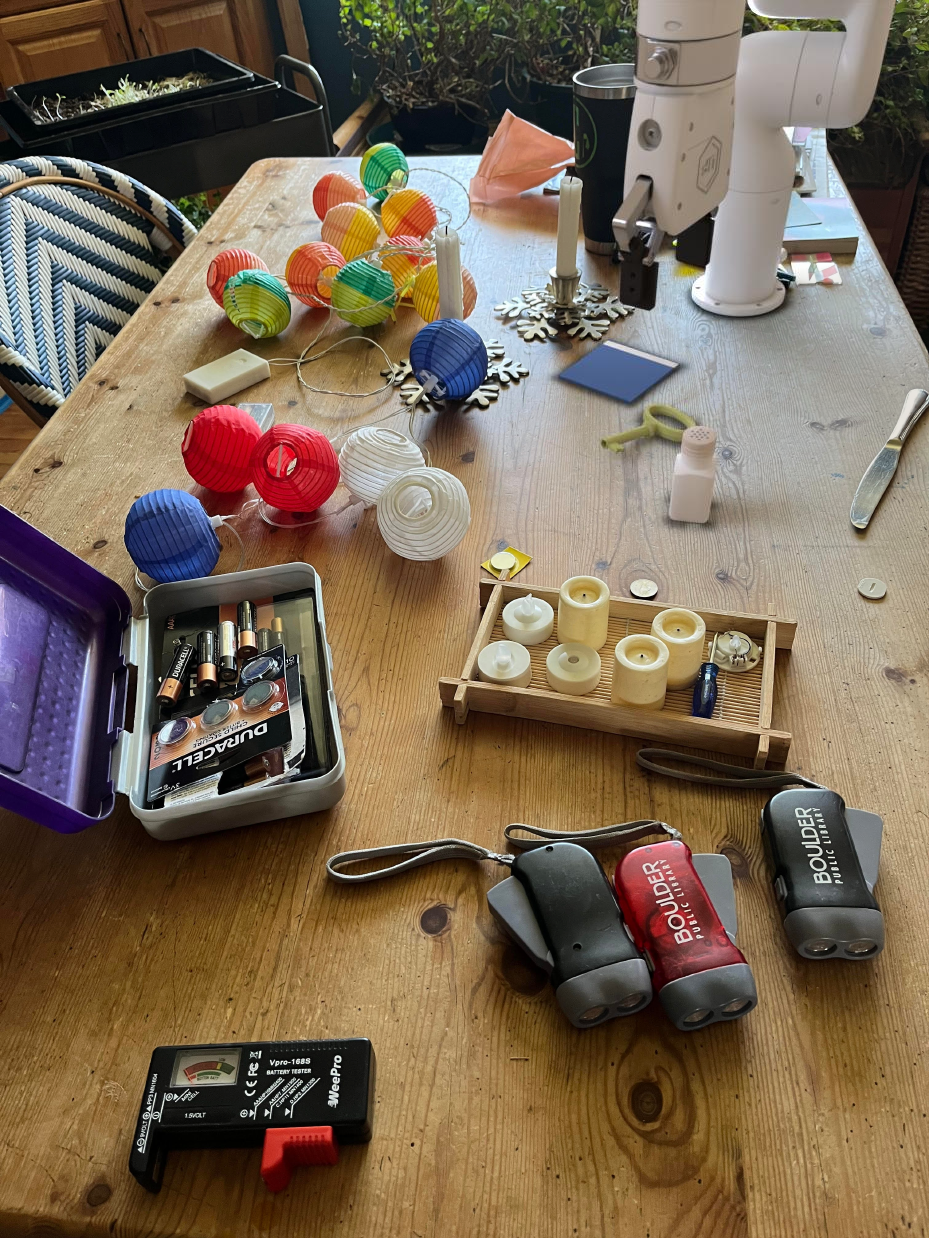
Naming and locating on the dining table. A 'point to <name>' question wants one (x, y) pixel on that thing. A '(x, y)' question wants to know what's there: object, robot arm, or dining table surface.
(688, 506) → the pepper shaker
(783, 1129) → the dining table surface
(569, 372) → the towel
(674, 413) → the key
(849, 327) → the dining table surface
